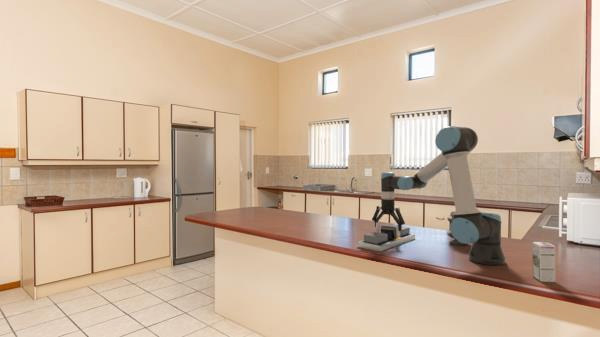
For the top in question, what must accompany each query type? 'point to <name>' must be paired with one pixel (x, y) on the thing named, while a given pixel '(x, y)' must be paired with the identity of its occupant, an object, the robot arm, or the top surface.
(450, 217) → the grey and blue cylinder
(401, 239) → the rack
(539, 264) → the syrup box
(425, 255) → the top surface
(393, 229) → the electrical switch
